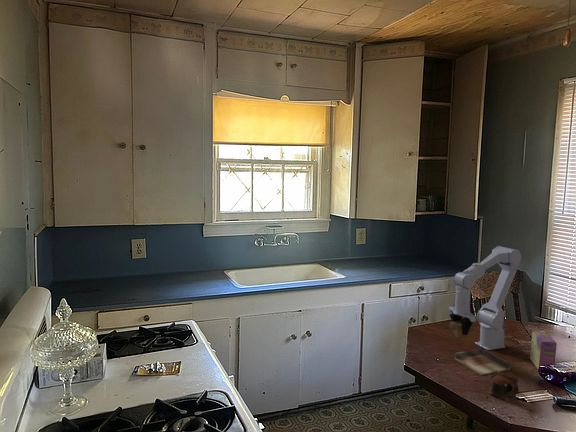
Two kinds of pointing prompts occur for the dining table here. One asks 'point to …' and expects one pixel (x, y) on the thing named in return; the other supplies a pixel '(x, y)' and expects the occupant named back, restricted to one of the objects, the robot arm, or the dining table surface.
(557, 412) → the dining table surface
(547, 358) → the box
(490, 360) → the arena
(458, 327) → the walnut block
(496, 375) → the pottery mug
